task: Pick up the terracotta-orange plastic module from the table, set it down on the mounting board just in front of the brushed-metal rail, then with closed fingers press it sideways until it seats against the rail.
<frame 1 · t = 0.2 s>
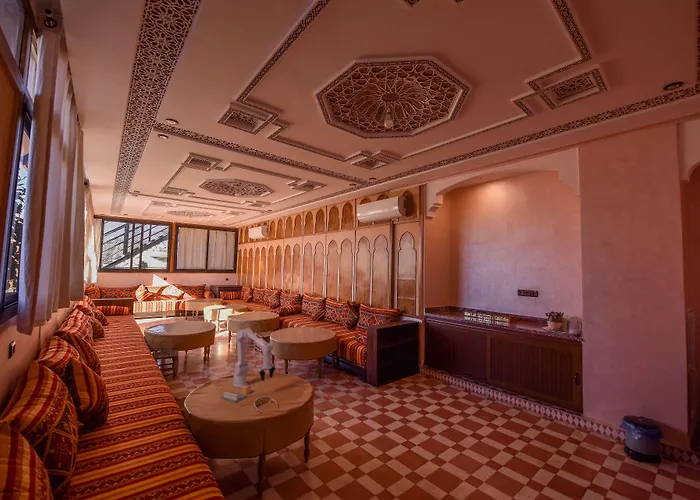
hand: (266, 379, 237), 10 cm above the table, fingers open, 7 cm apart
module: (246, 393, 235), on the table
board: (234, 397, 227), on the table
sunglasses: (265, 408, 213), on the table
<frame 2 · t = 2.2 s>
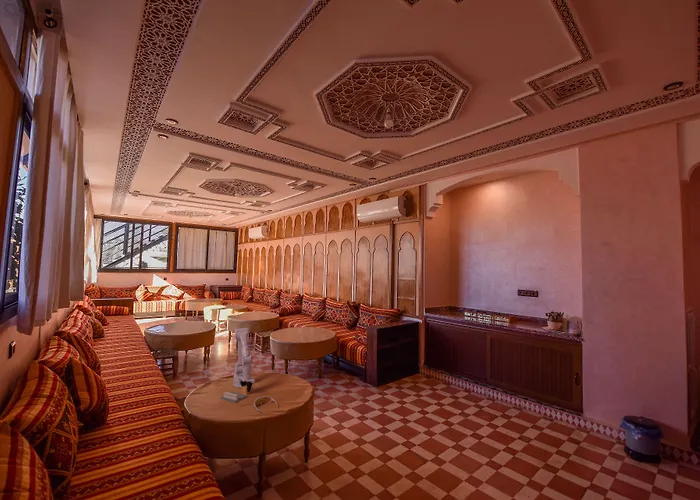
hand: (246, 391, 235), 1 cm above the table, fingers closed on module, 4 cm apart
module: (246, 393, 235), on the table, touching gripper
everything else where it was.
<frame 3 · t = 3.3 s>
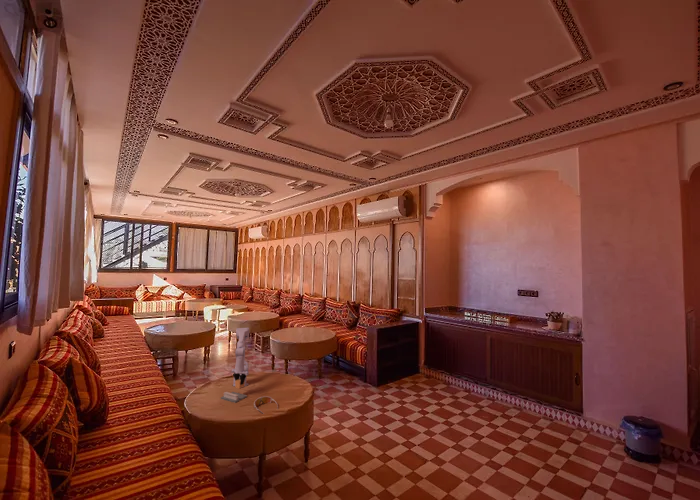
hand: (239, 383, 231), 8 cm above the table, fingers closed on module, 4 cm apart
module: (239, 386, 231), point 6 cm above the table, touching gripper
everything else where it was.
when the fingers open (3 cm above the table, at t = 4.8 s): module stays where it is, resting on board.
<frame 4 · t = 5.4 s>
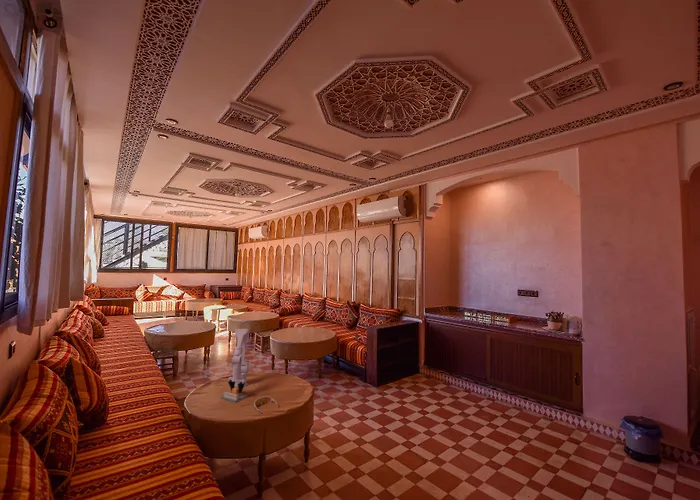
hand: (236, 391, 229), 3 cm above the table, fingers open, 7 cm apart
module: (236, 395, 229), point 1 cm above the table, touching board
everything else where it was.
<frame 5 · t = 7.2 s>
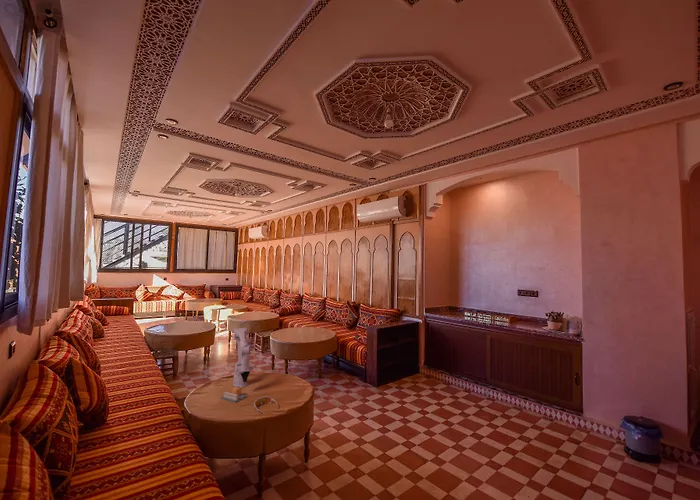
hand: (244, 381, 236), 8 cm above the table, fingers closed
nothing on the table moved.
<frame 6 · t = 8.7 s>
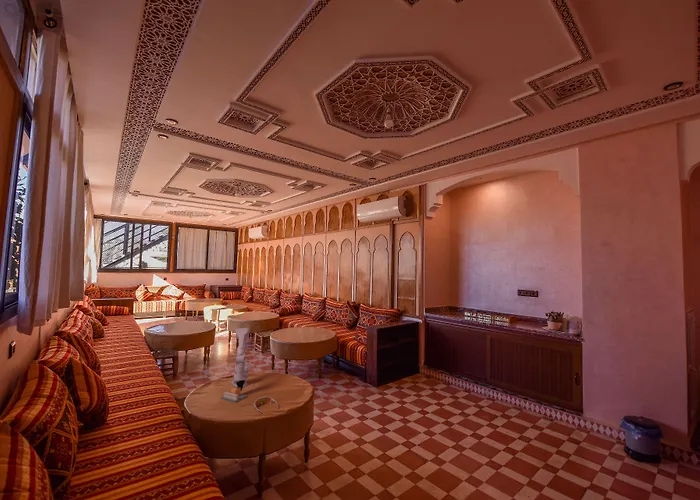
hand: (240, 390, 232), 3 cm above the table, fingers closed
module: (235, 395, 228), point 1 cm above the table, touching board, gripper
everything else where it was.
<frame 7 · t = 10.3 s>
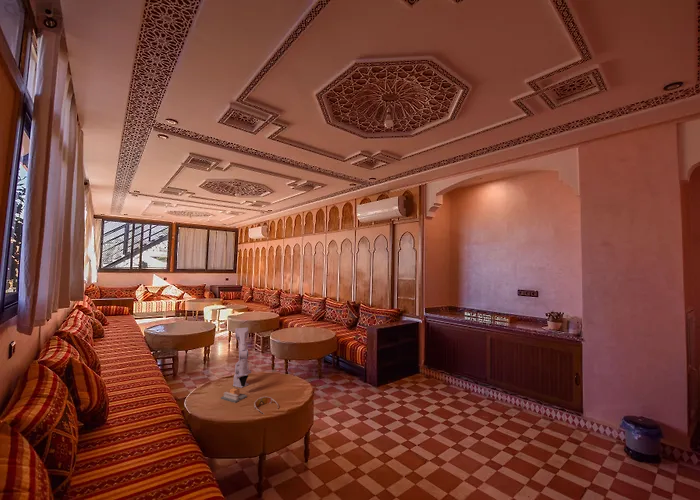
hand: (243, 385, 235), 5 cm above the table, fingers closed
module: (234, 396, 227), point 1 cm above the table, touching board
everything else where it was.
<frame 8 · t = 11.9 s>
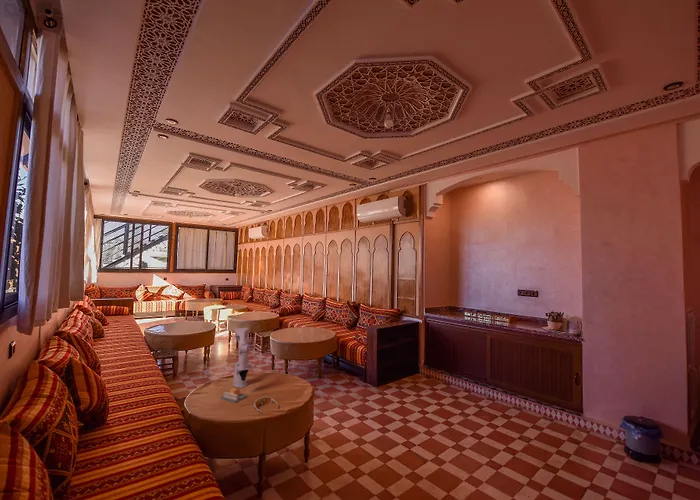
hand: (243, 380, 235), 9 cm above the table, fingers closed
at the end: module 0.2 cm off-centre on the board, point 1.0 cm above the board's base; module tilted 0°; the gripper is holding nothing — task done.
